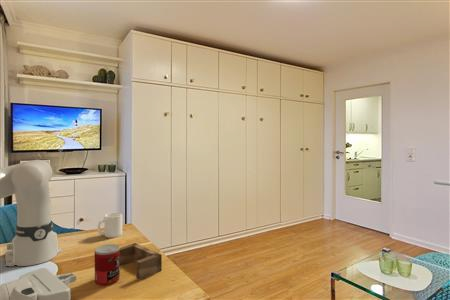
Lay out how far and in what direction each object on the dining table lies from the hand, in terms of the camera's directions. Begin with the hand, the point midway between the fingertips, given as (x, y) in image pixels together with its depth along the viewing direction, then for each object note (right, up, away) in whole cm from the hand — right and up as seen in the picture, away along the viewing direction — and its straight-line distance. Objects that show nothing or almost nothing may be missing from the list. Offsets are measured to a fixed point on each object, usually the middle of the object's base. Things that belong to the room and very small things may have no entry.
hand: (74, 276), depth 84 cm
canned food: (+7, -5, +9) cm, 12 cm away
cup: (-10, -4, +51) cm, 52 cm away
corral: (+14, -5, +18) cm, 23 cm away
